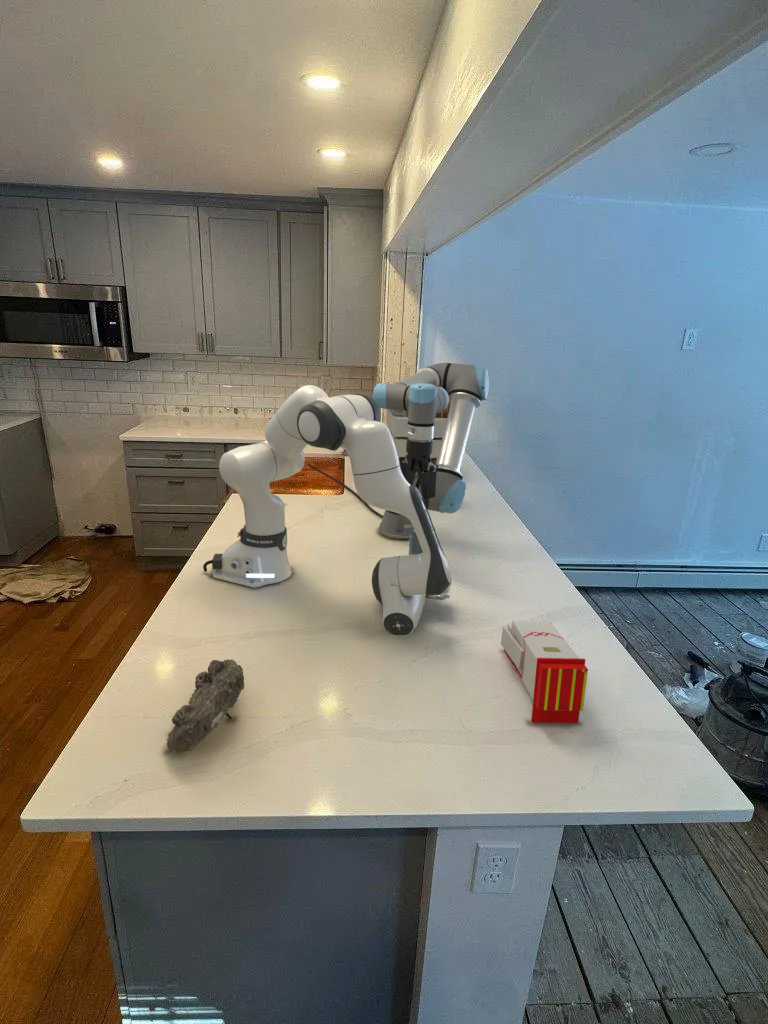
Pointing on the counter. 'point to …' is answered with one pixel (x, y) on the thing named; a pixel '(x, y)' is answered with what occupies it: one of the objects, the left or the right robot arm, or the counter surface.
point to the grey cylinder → (414, 544)
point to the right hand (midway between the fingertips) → (414, 516)
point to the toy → (547, 670)
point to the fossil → (206, 705)
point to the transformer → (399, 425)
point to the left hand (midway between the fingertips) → (416, 571)
